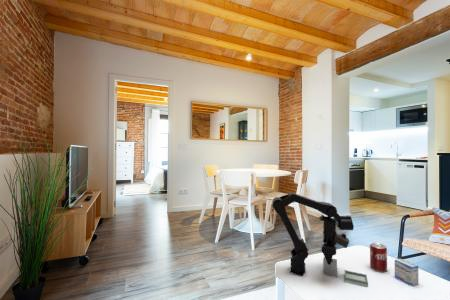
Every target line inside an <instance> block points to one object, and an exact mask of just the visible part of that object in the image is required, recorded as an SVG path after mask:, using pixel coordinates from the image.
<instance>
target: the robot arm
mask: <svg viewBox="0 0 450 300" xmlns="http://www.w3.org/2000/svg"><path fill="white" fill-rule="evenodd" d="M294 202H295V203H298V204H299V205H303V206H306V207H309V208H310V209H314V210H317V211H318V212H320V213H321V216H319V217H318V219H319V221H322V222H323V223H322V225H323V229H322V230H323V231H322V234H323V237H322V238H323V239H322V242H323V244H321V252H322V254H323V257H325V258H326V261H327V263H328V264H329V265H331V261H332V259H333V257H334V256H336V254H337V247H336V246H337V245H340V247H341V246H342V247H343V248H344V249H346V248H348V246H349V244H350V240H349V238H347V234H345V233H341V234H338V232H337V229H338V230H339V231H354V222H353V220H352V216H350V215H340V214H339V213H338V209H337V207H335V206H334V205H333V204H332V203H330V202H324V201H317V200H314V199H311V198H308V197H306V196H303V195H300V194H298V193H295V192H290V193H288V194H285V195H281V196H279V197H278V196H276V197H274V198H273V199H272V200H271V205H272V208H273V209H274V211H275V212H276V213H277V216H279V217H280V219H281V220H282V221H281V222H282V223H283V225H284V227H285V228H286V230H287V233H288V235H289V238H290V239H291V241H292V245H293V249H292V250H290V255H291V257H290V270H289V273H290V274H295V275H299V276H304V274H305V273H306V262H305V260H306V259H307V258H308V256H309V251H310V250H309V247H308V246H307V244H306V242H305V239H304V238H300V237H299V236H298V234H297V233H298V232H296V229H295V227H294V226H293V224H292V222H291V218H289V215H288V213H287V210H286V207H288V206H290V205H291V204H292V203H294Z"/></svg>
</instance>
